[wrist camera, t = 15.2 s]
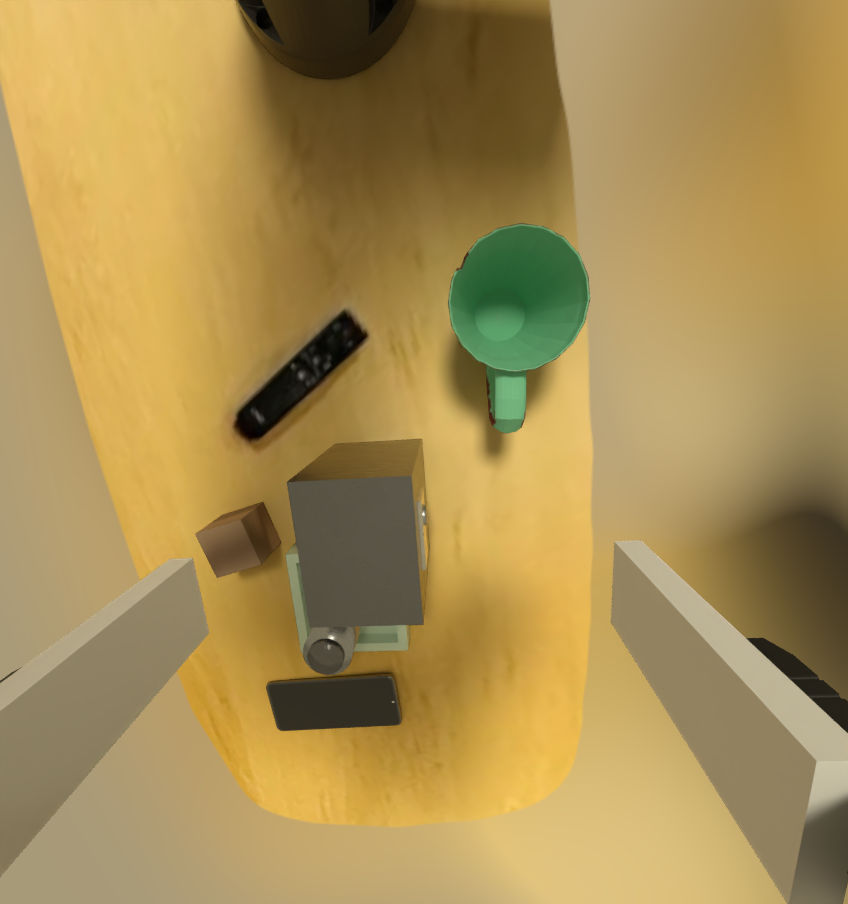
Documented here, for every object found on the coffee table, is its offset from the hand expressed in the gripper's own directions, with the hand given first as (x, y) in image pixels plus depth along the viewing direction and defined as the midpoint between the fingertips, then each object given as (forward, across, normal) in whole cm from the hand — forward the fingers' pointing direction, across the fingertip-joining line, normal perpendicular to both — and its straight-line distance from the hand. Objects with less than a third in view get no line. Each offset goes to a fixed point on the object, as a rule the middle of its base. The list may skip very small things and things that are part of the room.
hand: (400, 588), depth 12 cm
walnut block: (+29, -20, -10) cm, 37 cm away
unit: (+29, -6, -7) cm, 30 cm away
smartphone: (+29, -14, -33) cm, 46 cm away
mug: (+29, +7, +8) cm, 31 cm away
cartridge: (+28, -10, -18) cm, 34 cm away
